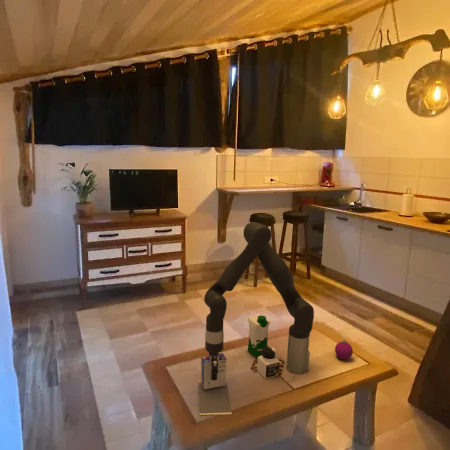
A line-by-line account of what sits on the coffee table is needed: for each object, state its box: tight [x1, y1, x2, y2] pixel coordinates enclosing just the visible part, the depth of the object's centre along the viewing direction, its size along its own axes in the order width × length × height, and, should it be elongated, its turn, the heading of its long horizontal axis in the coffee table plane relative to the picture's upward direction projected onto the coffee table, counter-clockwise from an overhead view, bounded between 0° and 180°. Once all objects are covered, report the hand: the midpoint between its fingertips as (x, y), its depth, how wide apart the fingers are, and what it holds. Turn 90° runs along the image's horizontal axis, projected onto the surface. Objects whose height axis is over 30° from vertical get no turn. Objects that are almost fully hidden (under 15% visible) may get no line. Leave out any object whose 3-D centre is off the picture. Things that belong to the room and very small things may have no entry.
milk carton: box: [247, 314, 271, 359], centre depth 179 cm, size 9×9×20 cm
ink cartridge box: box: [200, 352, 228, 389], centre depth 153 cm, size 10×6×14 cm, turn 109°
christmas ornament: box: [334, 339, 354, 360], centre depth 178 cm, size 8×8×10 cm
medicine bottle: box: [256, 345, 280, 380], centre depth 164 cm, size 7×7×12 cm
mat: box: [198, 379, 232, 417], centre depth 148 cm, size 12×20×1 cm, turn 5°
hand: (213, 374), depth 154 cm, fingers closed on ink cartridge box, 6 cm apart
